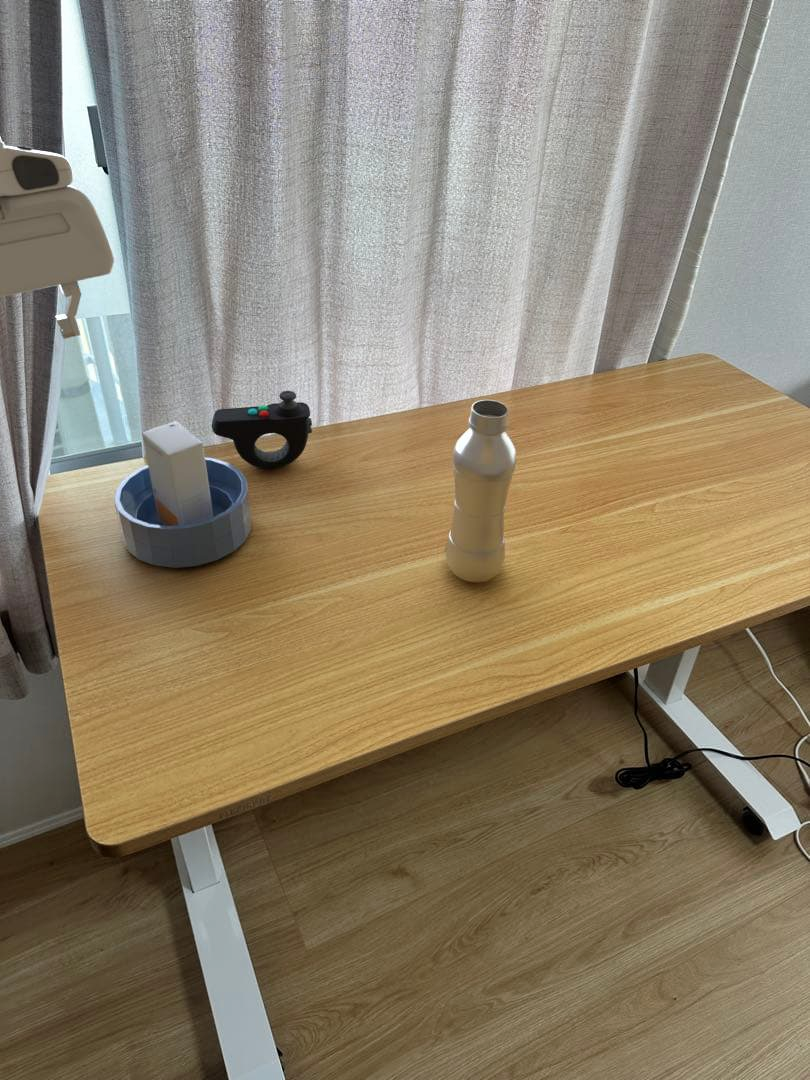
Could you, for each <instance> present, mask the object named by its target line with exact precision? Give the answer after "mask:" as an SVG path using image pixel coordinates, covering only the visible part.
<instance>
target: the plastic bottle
mask: <svg viewBox="0 0 810 1080" xmlns="http://www.w3.org/2000/svg"><path fill="white" fill-rule="evenodd" d="M509 410H510V409H509V408H508V405H506V404H505V403H503V402H501V401H498V400H495V399H480V400H477V401H475V402H473V403H472V405H471V407H470V416H469V418H468V427H469V428H468V429H467V430H466V431H465V432H464V433H463V434H462V435H461V436H460V437H459V438H458V440H457V441H456V442H455V445H454V448H453V450H452V468H453V480H454V509H453V513H452V514H453V515H452V520H451V526H450V531H449V533H448V535H447V539H446V542H445V547H444V549H445V550H444V552H445V560H446V564H447V566H448V569H449V570H450V571H451V572H452V573H453V574H454V576H456V577H457V578H459V579H460V580H462V581H466V582H469V583H483V582H484V583H485V582H488V581H490V580H491V579H493V578H494V577H496V576H497V575H498V574H499V573H500V572H501V570H502V567H503V565H504V561H505V559H506V541H505V537H504V536H505V534H504V533H505V532H504V531H505V530H504V529H505V528H504V527H505V512H506V505H507V501H508V497H509V491H510V487H511V484H512V481H513V478H514V477H513V476H514V474H515V470H516V466H517V462H518V456H517V451H516V448H515V446H514V444H513V441H512V439H511V438H510V437H509V435H508V433H507V430H508V428H509V414H510V412H509Z"/></svg>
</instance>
